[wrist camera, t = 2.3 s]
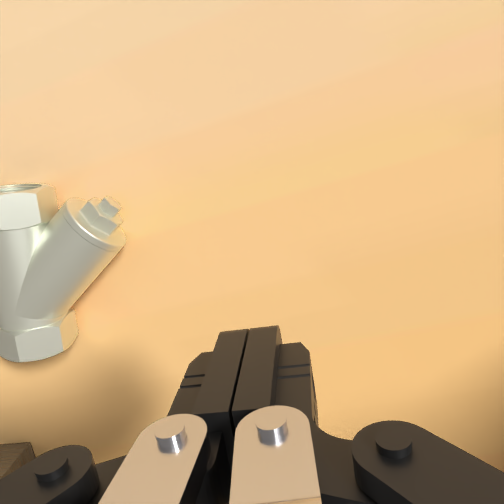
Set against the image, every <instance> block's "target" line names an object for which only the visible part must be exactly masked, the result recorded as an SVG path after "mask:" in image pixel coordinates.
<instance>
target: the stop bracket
mask: <svg viewBox="0 0 504 504" xmlns="http://www.w3.org/2000/svg"><path fill="white" fill-rule="evenodd" d="M33 459H35V455H34V452H33V449H32V447H31V444H30V442H28V443H16V444H3V445H0V479H2V478H4V477H5V476H7V475H9V474H10V473H12V472H14V471H15V470H17V469H18V468H20V467H22V466H23V465H25V464H27V463H28V462H30V461H32V460H33Z"/></svg>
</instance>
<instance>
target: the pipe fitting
mask: <svg viewBox="0 0 504 504" xmlns="http://www.w3.org/2000/svg"><path fill="white" fill-rule="evenodd" d="M121 208H122V207H121V205H120V204H119V203H118V202H117V201H116V200H115V199H113V198H111V197H109V196H106V197H105V198H104V199H103V200H101V199H99V198H95V197H94V198H92V199H90V200H89V201H86V200H83V199H80V198H70V199H68V200H67V201H66V202H65V203H64V204H63V206H62V207H61V208H60V209H59V210H58V203H57V197H56V191H55V187H53V186H51V185H48V184H43V183H27V184H12V185H2V186H0V356H1V357H2V358H5V359H7V360H9V361H13V362H31V361H37V360H41V359H45V358H49V357H52V356H54V355H57V354H59V353H61V352H63V351H64V350H66V349H68V348H69V347H70V346H71V345H72V344H73V342H74V341H75V339H76V337H77V335H78V333H79V332H78V326H77V320H76V314H75V310H73V309H72V308H71V307H72V305H73V304H74V303H75V302H76V301H77V300H78V298H79V297H80V296H81V295H82V294H83V293H84V292H85V290H86V289H87V288H88V287H89V286H90V285H91V283H92V282H93V281H94V280H95V279H96V278H97V277H98V275H99V274H100V273H101V272H102V271H103V270H104V268H105V267H106V266H107V265H108V264H109V263H110V262H111V260H112V259H113V258H114V257H115V256H116V255H117V253H118V252H119V251H120V250H121V249H122V248H123V246H124V245H125V244H126V236H125V233H124V231H123V230H122V228H121V227H120V225H121V223H122V222H123V219H122V217H121V215H120V214H119V213H118V212H119V211H120V210H121Z"/></svg>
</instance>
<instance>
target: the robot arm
mask: <svg viewBox="0 0 504 504" xmlns="http://www.w3.org/2000/svg"><path fill="white" fill-rule="evenodd" d="M0 504H504V472H502V471H500V470H498V469H496V468H494V467H493V466H491V465H489V464H487V463H485V462H483V461H482V460H480V459H478V458H476V457H474V456H473V455H471V454H469V453H467V452H465V451H463V450H462V449H460V448H458V447H456V446H454V445H452V444H451V443H449V442H447V441H445V440H443V439H441V438H440V437H438V436H436V435H434V434H432V433H431V432H429V431H427V430H425V429H423V428H421V427H419V426H417V425H414V424H411V423H408V422H403V421H381V422H377V423H373V424H371V425H368V426H366V427H364V428H363V429H362V430H360V431H359V432H358V433H357V434H356V435H355V437H354V439H353V441H352V440H346V439H341V438H337V437H334V436H331V435H329V434H327V433H325V432H324V431H322V430H321V429H320V428H319V427H318V411H317V401H316V394H315V387H314V380H313V373H312V367H311V360H310V353H309V351H308V350H307V349H306V348H305V347H304V346H303V344H302V343H301V342H299V343H289V344H282V339H281V333H280V329H279V326H269V327H260V328H251V329H250V330H249V329H243V330H234V331H225V332H220V334H219V336H218V339H217V342H216V345H215V348H214V351H213V352H204V353H201V354H200V355H199V356H198V357H197V358H195V359H194V360H193V361H192V362H191V363H190V364H189V366H188V368H187V371H186V373H185V375H184V379H183V380H182V382H181V385H180V389H178V392H177V394H176V396H175V399H174V401H173V404H172V406H171V408H170V411H169V413H168V415H167V417H164V418H162V419H159V420H157V421H155V422H153V423H152V424H150V425H149V426H148V427H146V428H145V429H144V430H143V431H142V432H141V433H140V435H139V436H138V437H137V439H136V441H135V442H134V444H133V446H132V448H131V449H130V451H129V453H128V454H127V455H125V456H122V457H119V458H116V459H113V460H109V461H106V462H103V463H99V464H96V465H95V463H94V460H93V457H92V454H91V452H90V450H89V449H87V448H86V447H83V446H79V445H69V446H63V447H59V448H56V449H53V450H50V451H48V452H46V453H44V454H42V455H40V456H38V457H37V458H35V459H33V460H32V461H30V462H28V463H27V464H25V465H23V466H22V467H20V468H18V469H17V470H15V471H14V472H12V473H10V474H9V475H7V476H5V477H4V478H2V479H0Z"/></svg>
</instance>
